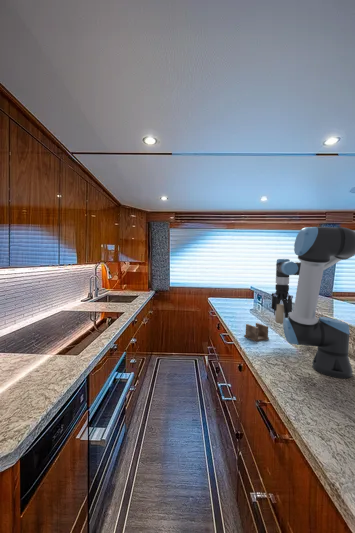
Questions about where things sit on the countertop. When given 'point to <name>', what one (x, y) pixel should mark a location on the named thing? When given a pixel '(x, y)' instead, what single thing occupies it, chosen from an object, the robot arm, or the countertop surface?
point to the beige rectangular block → (279, 313)
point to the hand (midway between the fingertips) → (280, 322)
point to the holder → (257, 332)
